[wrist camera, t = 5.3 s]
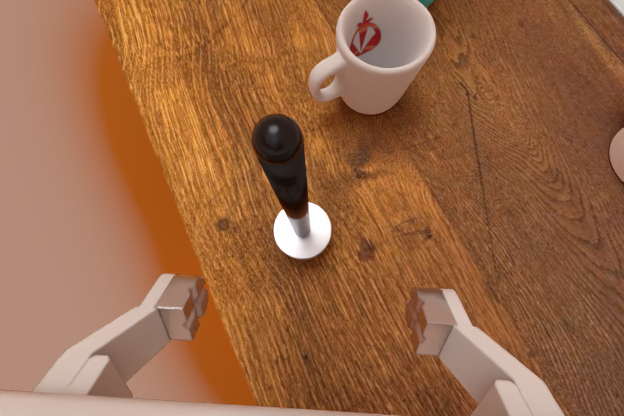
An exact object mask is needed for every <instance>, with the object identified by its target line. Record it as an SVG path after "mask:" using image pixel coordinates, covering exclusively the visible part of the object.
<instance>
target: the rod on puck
mask: <svg viewBox="0 0 624 416" xmlns="http://www.w3.org/2000/svg"><path fill="white" fill-rule="evenodd" d="M251 141H252V146H253V150H254V152H255V154H256V156H257V158H258V160H259V162H260V164H261V166H262V168H263V170H264V172H265V174H266V176H267V178H268V180H269V182H270V184H271V186H272V188H273V190H274V192H275V194H276V196H277V198H278V200H279V202H280V204H281V206H282V208H283V209H282V210H281V211H280V212H279V214H278V215H277V217H276V219H275V222H274V226H273V235H274V239H275V242H276V244H277V246H278V247H279V249H280V250H281V251H282V252H283V253H285V254H286V255H287V256H289V257H291V258H293V259H296V260H300V261H307V260H311V259H314V258H316V257H318V256H319V255H321V254H322V253H323V252H324V250H325V249H326V247H327V246H328V244H329V242H330V239H331V235H332V226H331V221H330V219H329V217H328V215H327V213H326V212H325V211H324V210H323V209H322V208H321V207H320V206H318V205H316V204H314V203H312V202H308V190H307V178H306V166H305V154H304V142H303V134H302V131H301V129H300V127H299V125H298V124H297V123H296V122H295V121H294V120H293V119H292V118H290V117H289V116H286V115H283V114H270V115H267V116H265V117H263V118H262V119H261V120H260V121H258V123H257V124H256V125H255V127H254V129H253V132H252V140H251Z"/></svg>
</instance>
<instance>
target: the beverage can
mask: <svg viewBox="0 0 624 416" xmlns="http://www.w3.org/2000/svg"><path fill="white" fill-rule="evenodd" d="M418 1H419V2H420V3H421V4H423V5H424V6H425V7H426V8H428V7H429V6H430V5H431V4H432V3H433V1H434V0H418Z"/></svg>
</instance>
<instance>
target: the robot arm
mask: <svg viewBox="0 0 624 416" xmlns="http://www.w3.org/2000/svg"><path fill="white" fill-rule="evenodd" d="M204 284H205V280H204V277H202V276H193V275H182V274H167V273H164V274H162V275H161V276H160V277H159V278H158V280H157V281H156V283H155V284H154V286H153V287H152V288H151V290H150V292H149V293H148V294H147V296H146V297H145V299H144V300H143V302H142V303H141V305H140V306H139V307H135V308H133V309H131V310H130V311H128V312H126V313H125V314H123V315H122V316H120V317H118V318H117V319H115V320H114V321H112V322H110V323H109V324H108V325H106V326H104V327H103V328H101V329H100V330H98V331H96V332H95V333H93V334H91V335H90V336H89V337H87V338H85V339H84V340H82V341H81V342H79V343H77V344H76V345H74V346H73V347H71V348H69V349H68V350H66V351H65V352H64V353H63V354H62V355H61V356H60V358H59V359H58V360H57V361H56V363H55V364H54V365H53V366H52V367H51V369H50V370H49V371H48V372H47V374H46V375H45V376H44V377H43V378H42V380H41V381H40V382H39V383H38V385H37V386H36V387H35V388H34V390H33V391H32V392H29V391H14V390H13V391H12V390H0V416H401V415H385V414H370V413H355V412H340V411H324V410H309V409H294V408H278V407H262V406H247V405H246V406H245V405H230V404H215V403H200V402H184V401H169V400H153V399H138V398H133V396H132V393H131V391H130V390H129V388H128V386H127V385H126V382H127V381H128V380H129V379H130V378H131V377H132V376H133V375H134V374H136V373H137V372H138V371H139V370H140V369H141V368H142V367H143V366H144V365H145V364H146V363H147V362H148V361H150V360H151V359H152V358H153V357H154V356H155V355H156V354H157V353H158V352H159V351H160V350H161V349H163V348H164V347H165V346H166V345H167V344H168V343H169V342H170V340H187V341H193V339H194V337H195V334H196V332H197V330H198V327H199V321H198V319H199V318H200V317H202V316H203V315H204V313H205V311H206V309H207V304H208V293H207V290H206V289H205V288H203V286H204ZM410 297H411V300H409V301H408V302H407V305H406V313H405V315H406V322H407V326H408V327H409V328H410V329H411V330H412V331H413V332H412V335H411V340H412V344H413V347H414V351H415V354H420V355H431V356H439V359H440V360H441V361H442V362H443V363H444V365H445V366H446V367H447V368H448V369H449V371H450V372H451V373H452V374H453V375H454V377H455V378H456V379H457V380H458V381H459V383H460V384H461V385H462V386H463V387H464V388H465V390H466V391H467V392H468V393H469V394H470V396H471V397H472V398H473V399H474V400H475V402H476V403H477V404H478V406H477V407H476V409H475V410H474V411H473V413H472V414H471V416H565V415H564V414H563V412H562V410H561V409H560V407H559V406H558V404H557V402H556V401H555V399H554V397H553V396H552V394H551V393H550V391H549V389H548V388H547V386H546V384H545V383H544V381H542V380H541V379H540V378H539V377H538V376H536V375H535V374H534V373H533V372H531V371H530V370H529V369H528V368H527V367H525V366H524V365H523V364H522V363H520V362H519V361H518V360H517V359H516V358H514V357H513V356H512V355H511V354H509V353H508V352H507V351H506V350H505V349H503V348H502V347H501V346H500V345H498V344H497V343H496V342H495V341H494V340H492V339H491V338H490V337H489V336H487V335H486V334H485V333H484V332H483V331H481V330H480V329H479V328H478V327H473V326H472V324H471V322H470V320H469V318H468V316H467V314H466V312H465V310H464V308H463V306H462V304H461V302H460V300H459V298H458V296H457V294H456V292H455V291H454V290H453V289H436V288H412V289H411V292H410Z"/></svg>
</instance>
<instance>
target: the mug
mask: <svg viewBox="0 0 624 416" xmlns="http://www.w3.org/2000/svg"><path fill="white" fill-rule="evenodd" d="M609 155H610V161H611V164H612V167H613V169H614V171H615V173H616V174H617V175H618V177H619V178H620V179H621V181H623V182H624V128H622V129H621V130H620V131H619V132H618V133H617V134H616V135H615V136H614V138H613V139H612V142H611V144H610V150H609Z"/></svg>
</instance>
